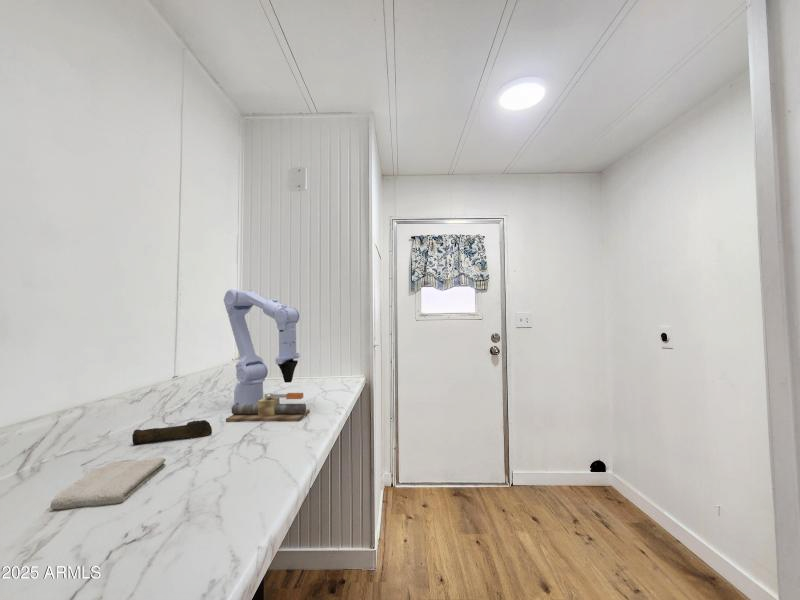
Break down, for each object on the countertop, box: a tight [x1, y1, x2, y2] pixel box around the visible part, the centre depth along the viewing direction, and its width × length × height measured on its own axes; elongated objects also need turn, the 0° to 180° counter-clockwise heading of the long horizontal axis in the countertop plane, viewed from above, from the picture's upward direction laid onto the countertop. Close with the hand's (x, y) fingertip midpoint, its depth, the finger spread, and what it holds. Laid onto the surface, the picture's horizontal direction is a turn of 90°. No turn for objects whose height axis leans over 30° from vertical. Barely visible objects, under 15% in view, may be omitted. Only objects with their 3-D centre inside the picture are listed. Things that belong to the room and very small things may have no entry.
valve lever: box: [264, 392, 304, 400], centre depth 120 cm, size 13×3×2 cm, turn 83°
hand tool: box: [131, 419, 213, 446], centre depth 101 cm, size 19×4×5 cm, turn 104°
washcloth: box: [50, 457, 166, 511], centre depth 74 cm, size 12×18×3 cm, turn 10°
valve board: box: [225, 397, 311, 423], centre depth 120 cm, size 24×10×6 cm, turn 86°
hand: (288, 382), depth 126 cm, fingers closed
